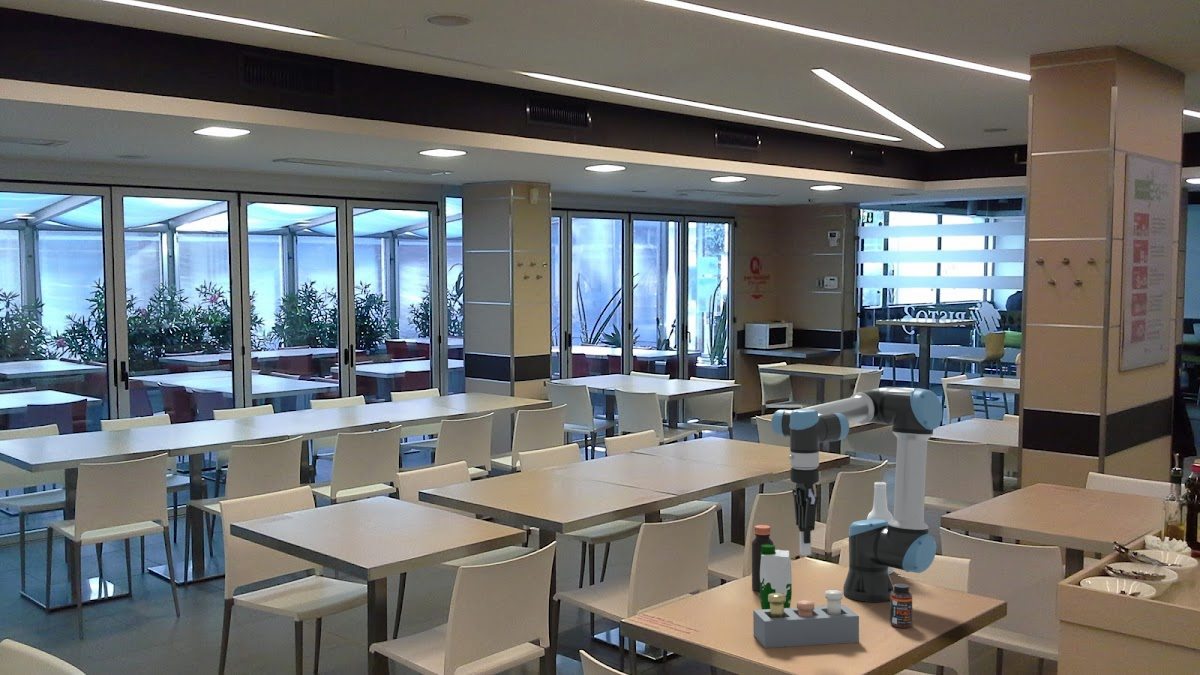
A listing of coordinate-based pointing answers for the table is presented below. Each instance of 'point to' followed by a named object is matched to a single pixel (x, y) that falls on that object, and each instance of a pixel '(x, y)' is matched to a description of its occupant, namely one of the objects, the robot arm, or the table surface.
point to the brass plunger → (776, 605)
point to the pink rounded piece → (805, 608)
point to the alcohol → (880, 507)
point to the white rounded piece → (833, 601)
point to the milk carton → (775, 574)
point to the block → (805, 627)
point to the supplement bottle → (901, 606)
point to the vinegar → (758, 553)
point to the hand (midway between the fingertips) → (805, 554)
